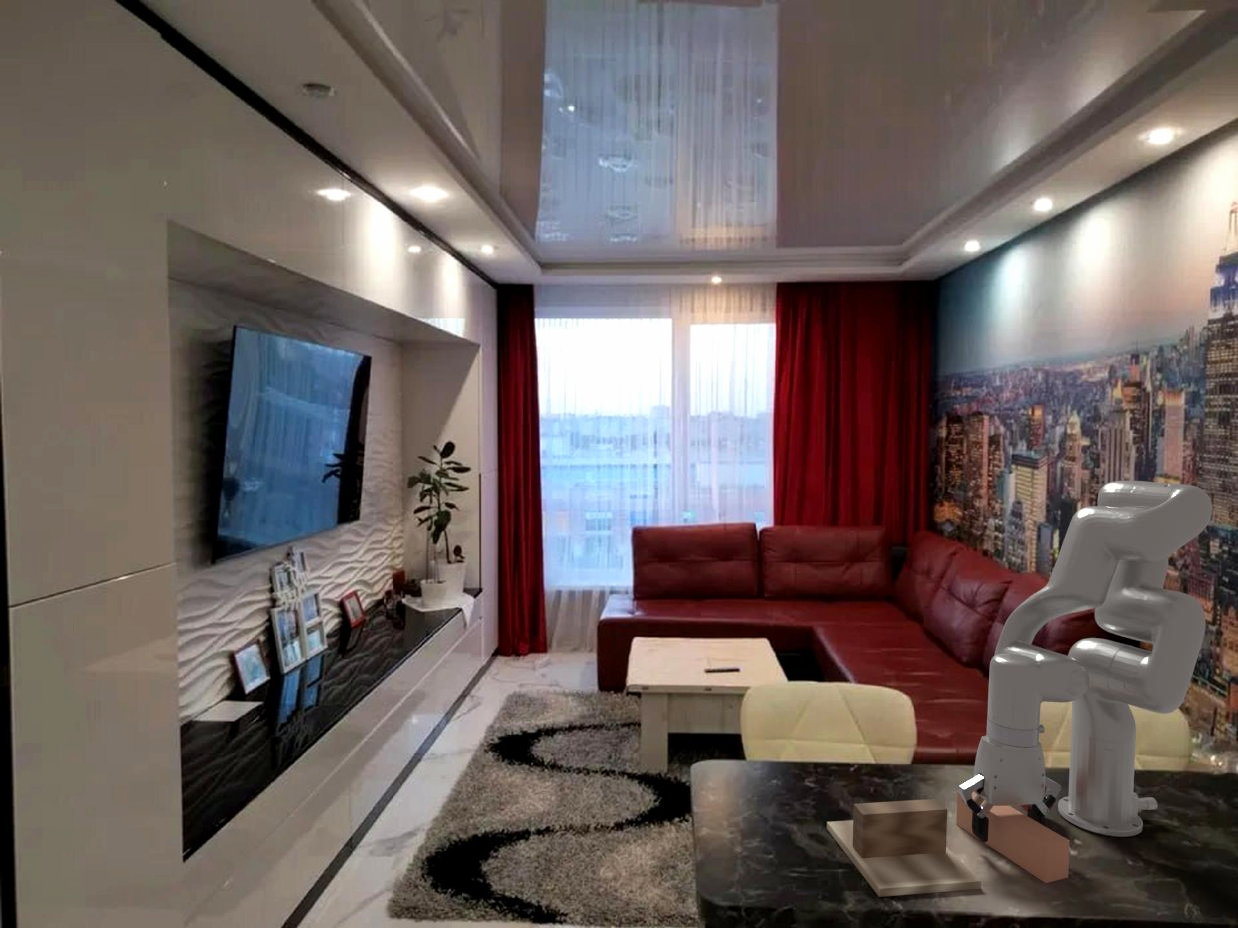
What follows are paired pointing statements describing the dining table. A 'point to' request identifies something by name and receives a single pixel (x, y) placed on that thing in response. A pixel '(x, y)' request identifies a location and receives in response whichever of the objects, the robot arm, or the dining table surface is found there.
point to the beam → (1021, 840)
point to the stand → (903, 848)
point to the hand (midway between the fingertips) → (1007, 836)
